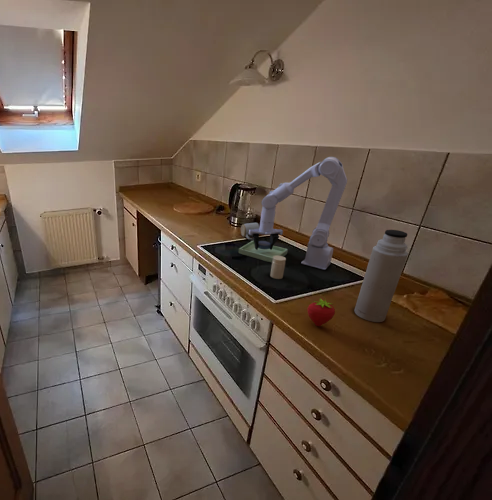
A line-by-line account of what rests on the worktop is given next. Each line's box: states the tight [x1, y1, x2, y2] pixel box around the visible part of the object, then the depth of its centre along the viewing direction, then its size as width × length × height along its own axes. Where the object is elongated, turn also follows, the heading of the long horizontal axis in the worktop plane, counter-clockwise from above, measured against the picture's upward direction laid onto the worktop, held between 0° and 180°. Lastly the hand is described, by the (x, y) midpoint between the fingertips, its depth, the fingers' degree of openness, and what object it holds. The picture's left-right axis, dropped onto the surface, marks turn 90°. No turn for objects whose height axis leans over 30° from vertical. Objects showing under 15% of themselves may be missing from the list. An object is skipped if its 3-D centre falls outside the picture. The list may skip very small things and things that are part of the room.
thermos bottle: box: [354, 229, 409, 323], centre depth 89 cm, size 8×8×28 cm
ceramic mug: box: [240, 222, 260, 242], centre depth 158 cm, size 11×8×8 cm
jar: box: [269, 256, 287, 280], centre depth 118 cm, size 5×5×8 cm
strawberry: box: [306, 297, 336, 327], centre depth 88 cm, size 6×8×10 cm
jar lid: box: [258, 240, 271, 249], centre depth 139 cm, size 6×6×2 cm
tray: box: [238, 240, 289, 264], centre depth 140 cm, size 17×14×2 cm
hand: (263, 248), depth 140 cm, fingers open, 6 cm apart
